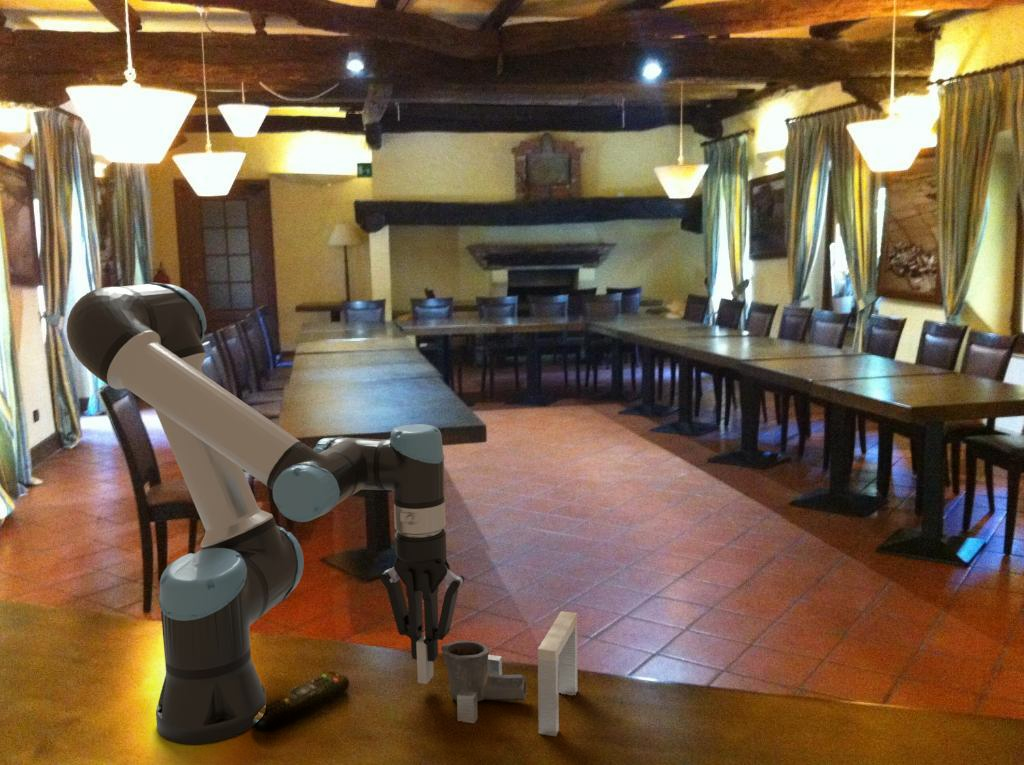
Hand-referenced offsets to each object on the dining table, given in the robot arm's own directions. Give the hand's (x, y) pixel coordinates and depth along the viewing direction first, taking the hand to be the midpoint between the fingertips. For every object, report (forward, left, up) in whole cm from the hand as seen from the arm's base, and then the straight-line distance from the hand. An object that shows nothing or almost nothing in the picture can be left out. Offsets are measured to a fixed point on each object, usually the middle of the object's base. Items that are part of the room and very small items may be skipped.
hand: (425, 679), depth 134 cm
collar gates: (+15, 0, -2) cm, 15 cm away
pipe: (+9, 0, -2) cm, 9 cm away
